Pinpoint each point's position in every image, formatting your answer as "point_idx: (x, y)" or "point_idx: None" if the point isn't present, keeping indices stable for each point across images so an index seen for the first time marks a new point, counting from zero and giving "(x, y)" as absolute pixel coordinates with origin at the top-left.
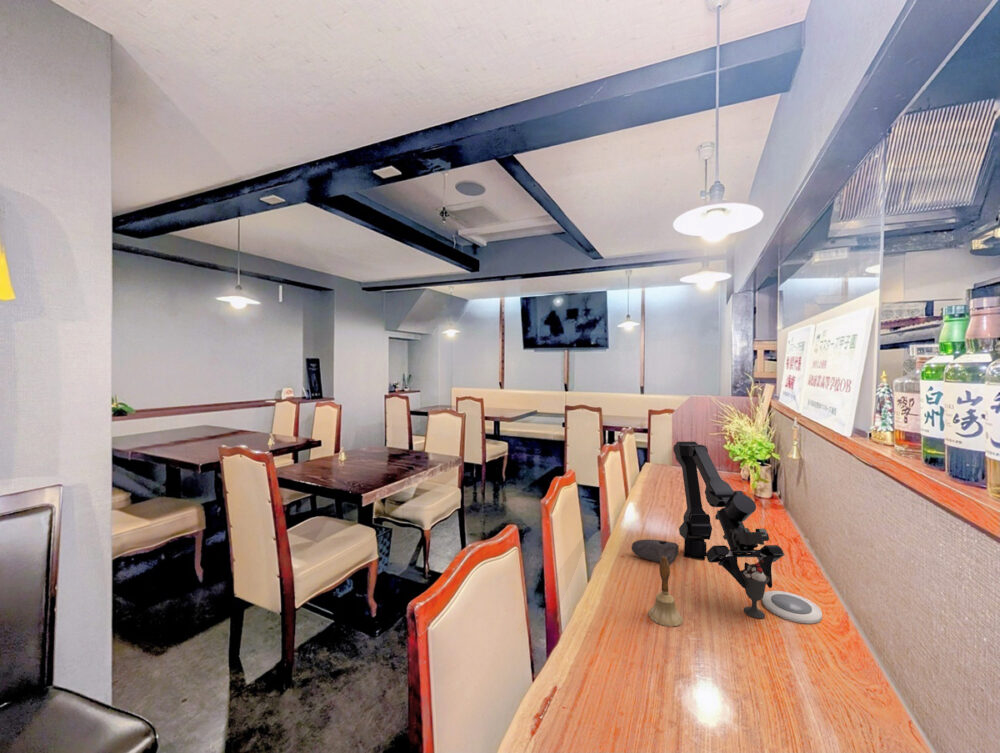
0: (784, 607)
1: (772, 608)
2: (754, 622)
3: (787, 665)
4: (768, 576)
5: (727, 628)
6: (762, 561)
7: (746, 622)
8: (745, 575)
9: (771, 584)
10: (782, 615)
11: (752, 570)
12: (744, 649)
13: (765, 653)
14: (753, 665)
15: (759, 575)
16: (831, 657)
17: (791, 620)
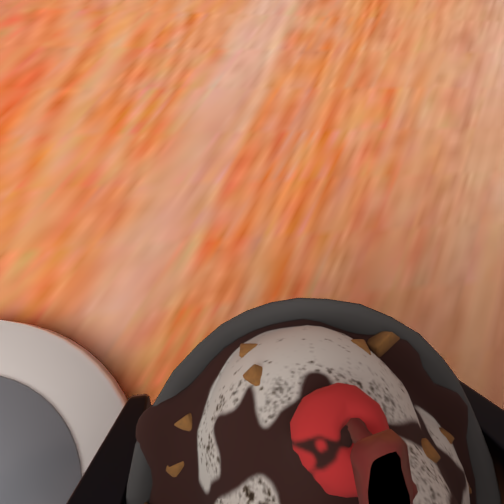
0: (40, 438)
1: None
2: None
3: (296, 41)
4: (118, 499)
5: (440, 248)
6: (404, 460)
7: None
8: (458, 459)
9: (131, 408)
10: (102, 369)
11: (434, 461)
12: (417, 118)
13: (346, 98)
14: (416, 43)
15: (341, 352)
16: (81, 78)
17: (70, 340)
